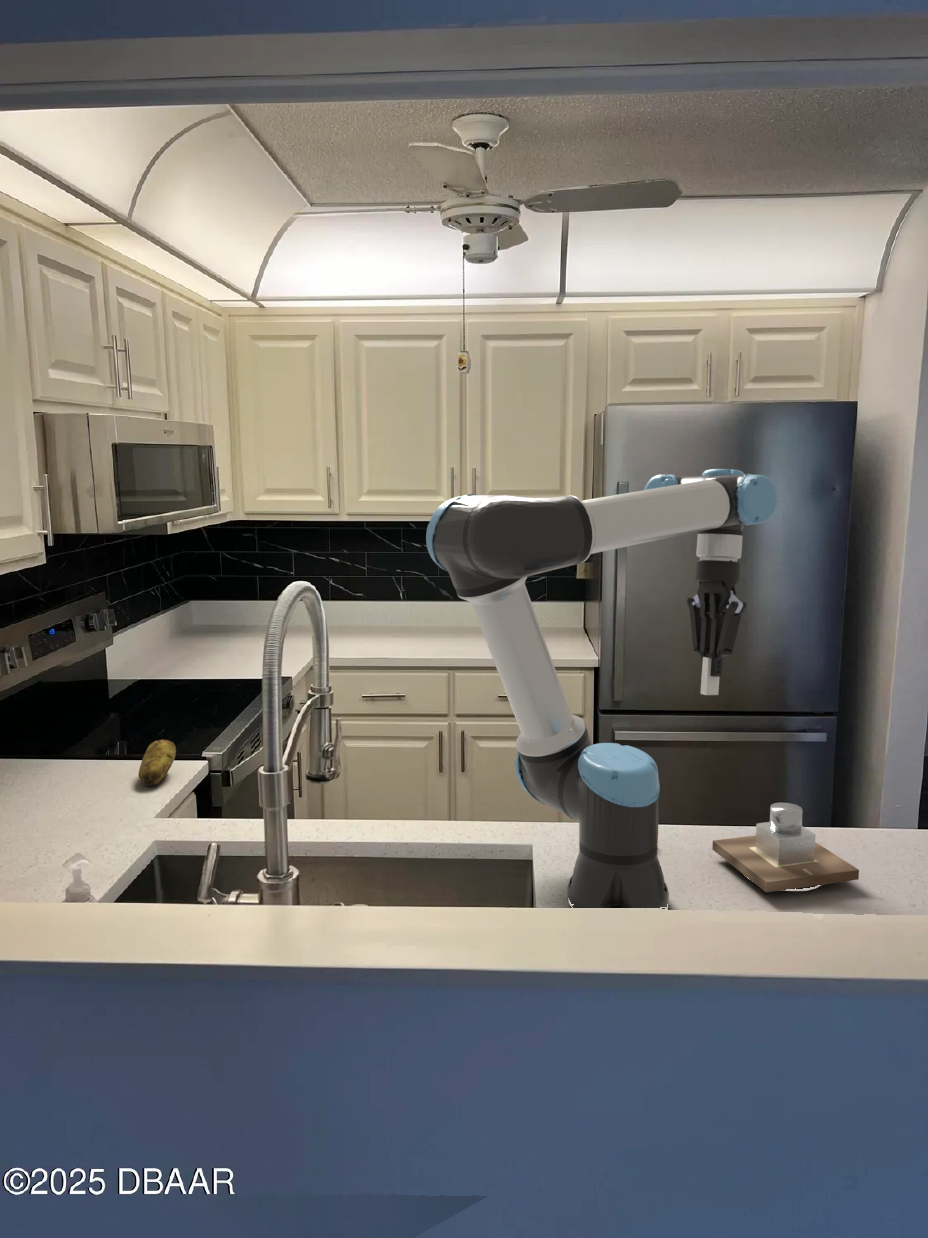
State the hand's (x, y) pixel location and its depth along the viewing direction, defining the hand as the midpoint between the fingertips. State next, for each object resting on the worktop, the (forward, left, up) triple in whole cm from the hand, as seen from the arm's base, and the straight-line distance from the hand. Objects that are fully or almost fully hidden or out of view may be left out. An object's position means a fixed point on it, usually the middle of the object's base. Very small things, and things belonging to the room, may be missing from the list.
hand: (709, 694), depth 151 cm
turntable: (+17, -2, -25) cm, 30 cm away
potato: (-91, -74, -26) cm, 120 cm away
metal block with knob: (+18, -2, -23) cm, 29 cm away
